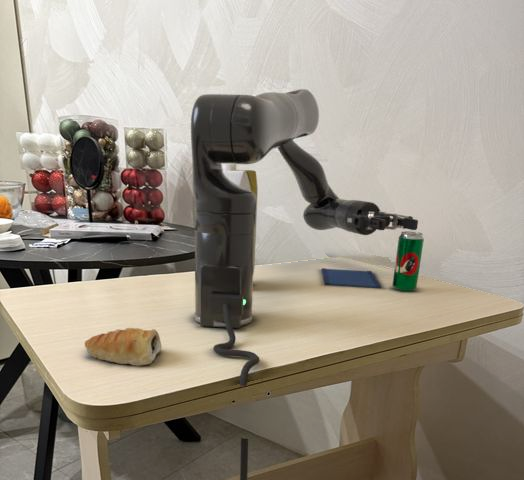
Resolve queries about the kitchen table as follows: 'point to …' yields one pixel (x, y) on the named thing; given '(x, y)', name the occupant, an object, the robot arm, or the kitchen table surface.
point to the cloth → (350, 278)
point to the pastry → (125, 346)
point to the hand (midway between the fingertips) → (400, 225)
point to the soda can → (408, 261)
